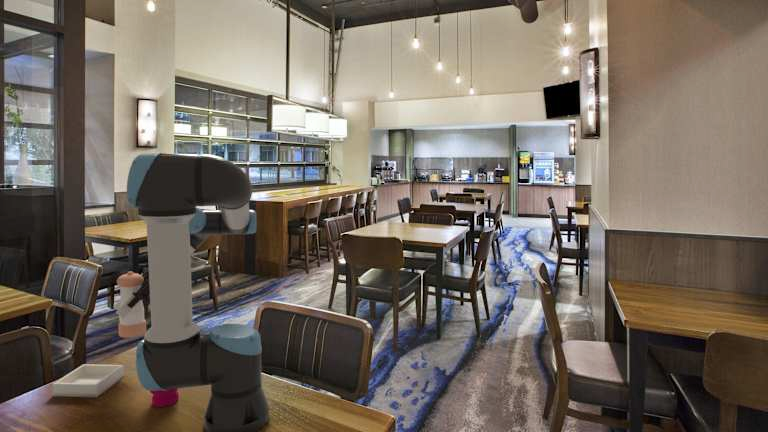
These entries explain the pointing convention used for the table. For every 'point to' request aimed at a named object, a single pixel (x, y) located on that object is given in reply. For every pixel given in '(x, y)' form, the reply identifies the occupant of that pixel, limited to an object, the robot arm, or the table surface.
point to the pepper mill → (164, 397)
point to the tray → (88, 380)
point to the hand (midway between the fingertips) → (118, 312)
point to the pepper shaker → (134, 319)
